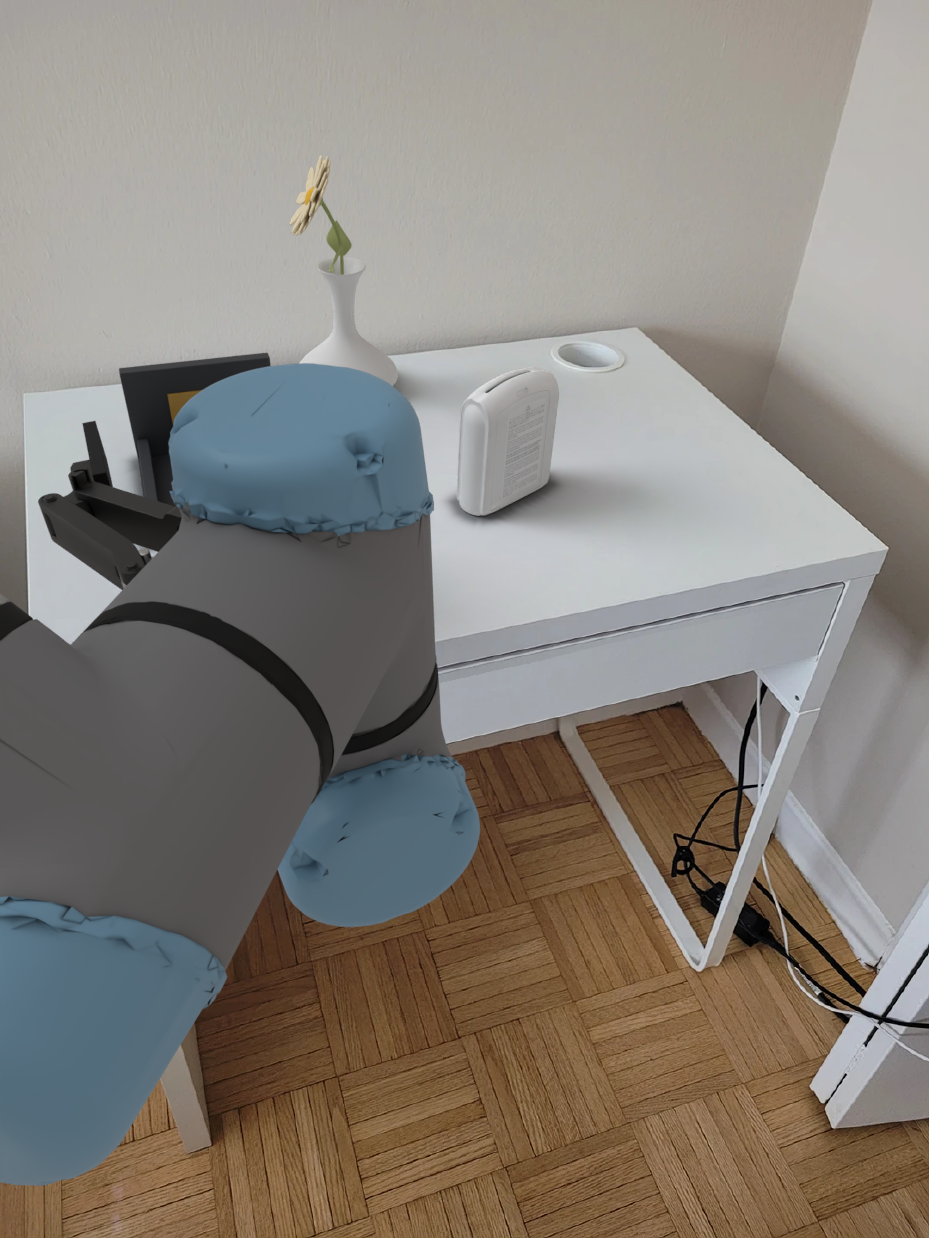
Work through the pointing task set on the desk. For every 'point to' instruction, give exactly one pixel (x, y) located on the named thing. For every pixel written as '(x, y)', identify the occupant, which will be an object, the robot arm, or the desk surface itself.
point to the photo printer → (506, 439)
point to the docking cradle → (170, 409)
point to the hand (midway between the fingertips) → (206, 419)
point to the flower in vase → (339, 289)
